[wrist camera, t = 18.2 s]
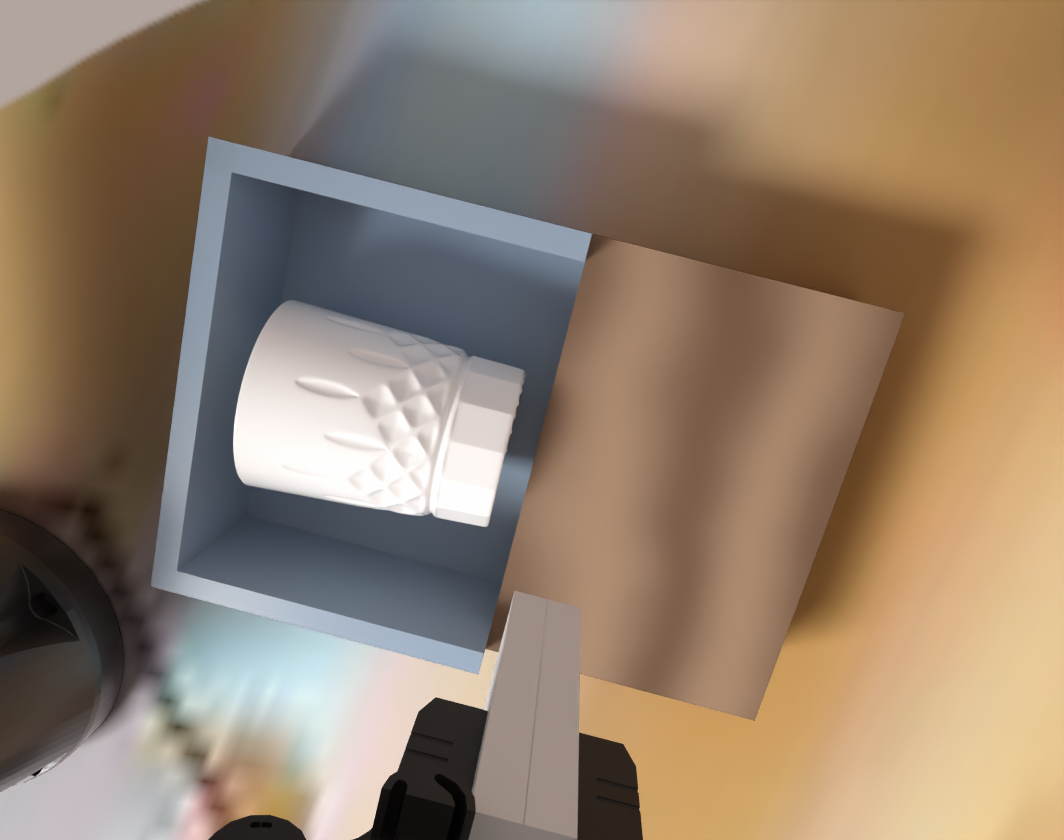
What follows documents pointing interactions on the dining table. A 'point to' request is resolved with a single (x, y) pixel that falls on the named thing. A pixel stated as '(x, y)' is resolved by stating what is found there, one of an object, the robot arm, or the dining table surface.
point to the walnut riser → (691, 468)
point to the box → (381, 297)
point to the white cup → (373, 416)
